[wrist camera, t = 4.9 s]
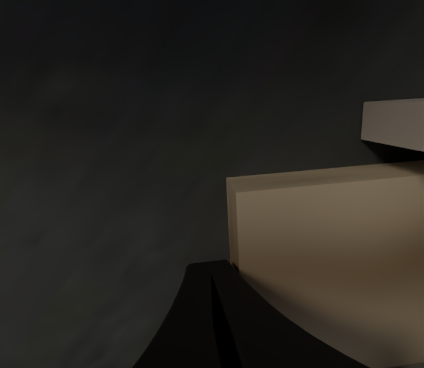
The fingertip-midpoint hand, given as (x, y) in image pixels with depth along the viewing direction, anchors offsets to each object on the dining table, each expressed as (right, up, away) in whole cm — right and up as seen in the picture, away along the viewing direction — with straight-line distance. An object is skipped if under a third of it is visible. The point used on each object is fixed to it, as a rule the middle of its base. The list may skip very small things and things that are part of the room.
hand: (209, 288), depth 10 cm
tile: (+5, +1, +2) cm, 5 cm away
